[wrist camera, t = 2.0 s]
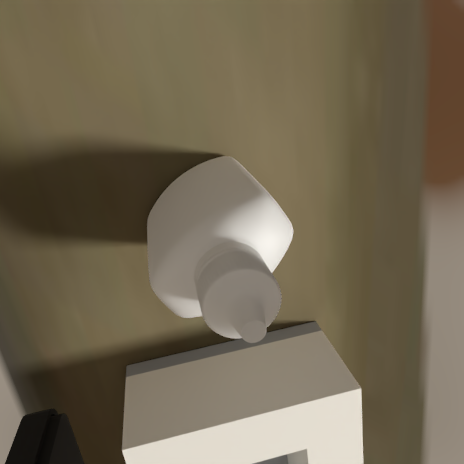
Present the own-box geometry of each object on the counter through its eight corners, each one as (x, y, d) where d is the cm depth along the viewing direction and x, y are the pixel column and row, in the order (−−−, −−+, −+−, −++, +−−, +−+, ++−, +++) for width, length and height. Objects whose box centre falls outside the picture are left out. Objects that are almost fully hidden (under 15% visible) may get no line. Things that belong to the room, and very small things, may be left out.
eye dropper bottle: (255, 229, 23) (355, 373, 12) (153, 249, 23) (163, 420, 12) (246, 150, 22) (352, 234, 11) (135, 169, 21) (127, 281, 10)
